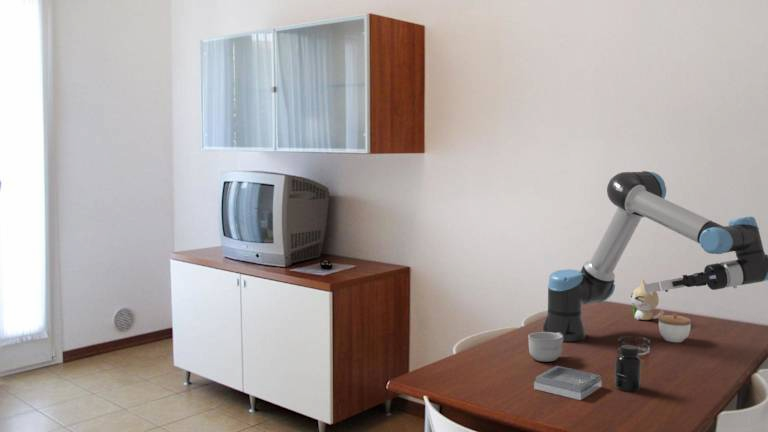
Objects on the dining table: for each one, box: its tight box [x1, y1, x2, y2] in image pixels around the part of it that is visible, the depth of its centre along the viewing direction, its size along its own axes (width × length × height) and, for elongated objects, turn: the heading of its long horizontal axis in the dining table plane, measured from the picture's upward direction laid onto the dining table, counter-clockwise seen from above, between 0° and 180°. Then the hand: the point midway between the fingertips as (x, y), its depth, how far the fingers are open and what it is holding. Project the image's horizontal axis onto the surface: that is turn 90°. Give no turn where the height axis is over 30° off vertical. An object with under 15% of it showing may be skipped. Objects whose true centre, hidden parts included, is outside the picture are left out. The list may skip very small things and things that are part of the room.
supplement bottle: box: [614, 344, 642, 393], centre depth 207 cm, size 7×7×12 cm
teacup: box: [527, 331, 564, 363], centre depth 234 cm, size 14×11×8 cm
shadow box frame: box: [533, 365, 603, 401], centre depth 207 cm, size 14×14×4 cm
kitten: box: [630, 279, 665, 321], centre depth 286 cm, size 15×10×15 cm
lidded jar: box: [658, 313, 692, 343], centre depth 257 cm, size 11×11×9 cm
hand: (651, 287), depth 215 cm, fingers open, 13 cm apart
